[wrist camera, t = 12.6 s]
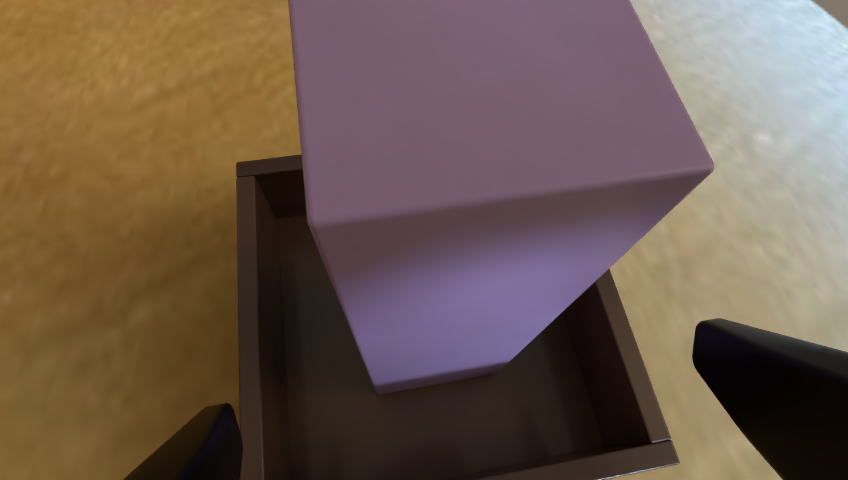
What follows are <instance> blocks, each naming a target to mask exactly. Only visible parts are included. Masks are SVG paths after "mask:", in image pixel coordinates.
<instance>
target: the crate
mask: <svg viewBox="0 0 848 480" xmlns="http://www.w3.org/2000/svg"><path fill="white" fill-rule="evenodd" d="M236 176H237V179H236V188H237V261H238V335H239V409H240V434H241V437H242V442H243V456H242V464H241V472H240V480H605V479H610V478H615V477H620V476H625V475H629V474H634V473H639V472H644V471H648V470H653V469H658V468H663V467H668V466H672V465H677V464H679V463H680V461H679V459H678V456H677V453H676V450H675V448H674V445H673V442H672V441H671V440H670V439H671V437H670V434H669V431H668V428H667V426H666V423H665V420H664V417H663V415H662V412H661V409H660V406H659V404H658V401H657V398H656V395H655V393H654V390H653V387H652V384H651V382H650V379H649V376H648V374H647V371H646V368H645V365H644V363H643V360H642V357H641V354H640V352H639V349H638V346H637V343H636V341H635V338H634V335H633V332H632V330H631V327H630V324H629V321H628V319H627V316H626V313H625V310H624V308H623V305H622V302H621V299H620V297H619V294H618V291H617V288H616V286H615V283H614V280H613V277H612V275H611V272H610V269H608V270H607V271H606V272H605V273H604V274H603V275H601V276H600V277H599V278H598V279H597V280H596V281H595V282H594V283H593V284H592V285H591V286H590V287H589V288H588V289H586V290H585V291H584V292H583V293H582V294H581V295H580V296H579V297H578V298H577V299H576V300H575V301H574V302H573V303H571V304H570V305H569V306H568V307H567V308H566V309H565V310H564V311H563V312H562V313H561V314H560V315H559V316H558V317H556V318H555V319H554V320H553V321H552V322H551V323H550V324H549V325H548V326H547V327H546V328H545V329H544V330H543V331H541V332H540V333H539V334H538V335H537V336H536V337H535V338H534V339H533V340H532V341H531V342H530V343H529V344H528V345H526V346H525V347H524V348H523V349H522V350H521V351H520V352H519V353H518V354H517V355H516V356H515V357H514V358H513V359H511V360H510V361H509V362H508V363H507V364H506V365H505V366H504V367H503V368H502V369H501V370H500V371H499V372H498V373H496V374H491V375H485V376H480V377H474V378H469V379H463V380H458V381H452V382H447V383H441V384H435V385H430V386H424V387H419V388H413V389H408V390H402V391H397V392H391V393H386V394H380V395H378V394H377V393H376V391H375V389H374V386H373V384H372V381H371V379H370V376H369V374H368V371H367V369H366V366H365V364H364V361H363V359H362V356H361V354H360V352H359V349H358V347H357V344H356V342H355V339H354V337H353V334H352V332H351V329H350V327H349V324H348V322H347V319H346V317H345V314H344V312H343V309H342V307H341V304H340V302H339V299H338V297H337V295H336V292H335V290H334V287H333V285H332V282H331V280H330V277H329V275H328V272H327V270H326V267H325V265H324V262H323V260H322V257H321V255H320V252H319V250H318V247H317V245H316V242H315V240H314V238H313V235H312V233H311V230H310V228H309V225H308V223H307V212H306V200H305V189H304V177H303V165H302V155H294V156H286V157H278V158H270V159H261V160H253V161H245V162H238V163H236Z"/></svg>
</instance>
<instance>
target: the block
mask: <svg viewBox="0 0 848 480" xmlns="http://www.w3.org/2000/svg"><path fill="white" fill-rule="evenodd" d="M288 2H289V14H290V25H291V37H292V49H293V60H294V72H295V84H296V95H297V107H298V119H299V130H300V142H301V154H302V165H303V177H304V189H305V200H306V212H307V223H308V225H309V228H310V230H311V233H312V235H313V238H314V240H315V242H316V245H317V247H318V250H319V252H320V255H321V257H322V260H323V262H324V265H325V267H326V270H327V272H328V275H329V277H330V280H331V282H332V285H333V287H334V290H335V292H336V295H337V297H338V299H339V302H340V304H341V307H342V309H343V312H344V314H345V317H346V319H347V322H348V324H349V327H350V329H351V332H352V334H353V337H354V339H355V342H356V344H357V347H358V349H359V352H360V354H361V356H362V359H363V361H364V364H365V366H366V369H367V371H368V374H369V376H370V379H371V381H372V384H373V386H374V389H375V391H376V393H377V394H378V395H380V394H386V393H391V392H397V391H402V390H408V389H413V388H419V387H424V386H430V385H435V384H441V383H447V382H452V381H458V380H463V379H469V378H474V377H480V376H485V375H491V374H496V373H498V372H499V371H500V370H501V369H502V368H503V367H504V366H505V365H506V364H507V363H508V362H509V361H510V360H511V359H513V358H514V357H515V356H516V355H517V354H518V353H519V352H520V351H521V350H522V349H523V348H524V347H525V346H526V345H528V344H529V343H530V342H531V341H532V340H533V339H534V338H535V337H536V336H537V335H538V334H539V333H540V332H541V331H543V330H544V329H545V328H546V327H547V326H548V325H549V324H550V323H551V322H552V321H553V320H554V319H555V318H556V317H558V316H559V315H560V314H561V313H562V312H563V311H564V310H565V309H566V308H567V307H568V306H569V305H570V304H571V303H573V302H574V301H575V300H576V299H577V298H578V297H579V296H580V295H581V294H582V293H583V292H584V291H585V290H586V289H588V288H589V287H590V286H591V285H592V284H593V283H594V282H595V281H596V280H597V279H598V278H599V277H600V276H601V275H603V274H604V273H605V272H606V271H607V270H608V269H609V268H610V267H611V266H612V265H613V264H614V263H615V262H616V261H618V260H619V259H620V258H621V257H622V256H623V255H624V254H625V253H626V252H627V251H628V250H629V249H630V248H631V247H632V246H634V245H635V244H636V243H637V242H638V241H639V240H640V239H641V238H642V237H643V236H644V235H645V234H646V233H647V232H649V231H650V230H651V229H652V228H653V227H654V226H655V225H656V224H657V223H658V222H659V221H660V220H661V219H662V218H664V217H665V216H666V215H667V214H668V213H669V212H670V211H671V210H672V209H673V208H674V207H675V206H676V205H677V204H679V203H680V202H681V201H682V200H683V199H684V198H685V197H686V196H687V195H688V194H689V193H690V192H691V191H692V190H694V189H695V188H696V187H697V186H698V185H699V184H700V183H701V182H702V181H703V180H704V179H705V178H706V177H707V176H709V175H710V174H711V173H712V172H713V170H714V163H713V161H712V159H711V157H710V155H709V153H708V151H707V149H706V148H705V146H704V144H703V142H702V140H701V138H700V136H699V134H698V132H697V130H696V128H695V126H694V124H693V122H692V120H691V118H690V117H689V115H688V113H687V111H686V109H685V107H684V105H683V103H682V101H681V99H680V97H679V95H678V93H677V91H676V89H675V88H674V86H673V84H672V82H671V80H670V78H669V76H668V74H667V72H666V70H665V68H664V66H663V64H662V62H661V60H660V59H659V57H658V55H657V53H656V51H655V49H654V47H653V45H652V43H651V41H650V39H649V37H648V35H647V33H646V31H645V29H644V28H643V26H642V24H641V22H640V20H639V18H638V16H637V14H636V12H635V10H634V8H633V6H632V4H631V2H630V0H288Z"/></svg>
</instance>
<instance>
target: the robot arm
mask: <svg viewBox="0 0 848 480" xmlns="http://www.w3.org/2000/svg"><path fill="white" fill-rule="evenodd" d="M692 359H693V364H694V366H695V368H696V370H697V372H698V373H699V374H700V376H701V377H702V378H703V380H704V381H705V383H706V384H707V385H708V387H709V388H710V389H711V391H712V392H713V394H714V395H715V396H716V398H717V399H718V400H719V402H720V403H721V405H722V406H723V407H724V409H725V410H726V411H727V413H728V414H729V415H730V417H731V418H732V420H733V421H734V422H735V424H736V425H737V426H738V428H739V429H740V430H741V432H742V433H743V434H744V435H745V437H746V438H747V439H748V440H749V441H750V443H751V444H752V445H753V446H754V447H755V448H756V450H757V451H758V452H759V453H760V454H761V455H762V456H763V458H764V459H765V460H766V461H767V462H768V463H769V464H770V466H771V467H772V468H773V469H774V470H775V471H776V472H777V474H778V475H779V476H780V477H781V478H782V479H783V480H848V352H845V351H841V350H837V349H833V348H830V347H826V346H822V345H818V344H815V343H811V342H807V341H803V340H800V339H796V338H792V337H788V336H785V335H781V334H777V333H773V332H770V331H766V330H762V329H758V328H755V327H751V326H747V325H743V324H740V323H736V322H732V321H728V320H725V319H711V320H705V321H701V322H699V323H698V324H697V326H696V329H695V337H694V346H693V354H692ZM242 456H243V442H242V437H241V434H240V430H239V427H238V423H237V420H236V416H235V413H234V410H233V408H232V406H231V405H230V404H228V403H225V404H219V405H213V406H208V407H205V408H204V409H203V410H201V411H200V412H199V413H198V414H197V415H196V416H195V417H194V418H192V419H191V420H190V421H189V422H188V423H187V424H186V425H184V426H183V427H182V428H181V429H180V430H179V431H178V432H176V433H175V434H174V435H173V436H172V437H171V438H170V439H169V440H167V441H166V442H165V443H164V444H163V445H162V446H161V447H159V448H158V449H157V450H156V451H155V452H154V453H153V454H151V455H150V456H149V457H148V458H147V459H146V460H145V461H144V462H142V463H141V464H140V465H139V466H138V467H137V468H136V469H134V470H133V471H132V472H131V473H130V474H129V475H128V476H127V477H125V478H124V479H123V480H240V472H241V464H242Z"/></svg>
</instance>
